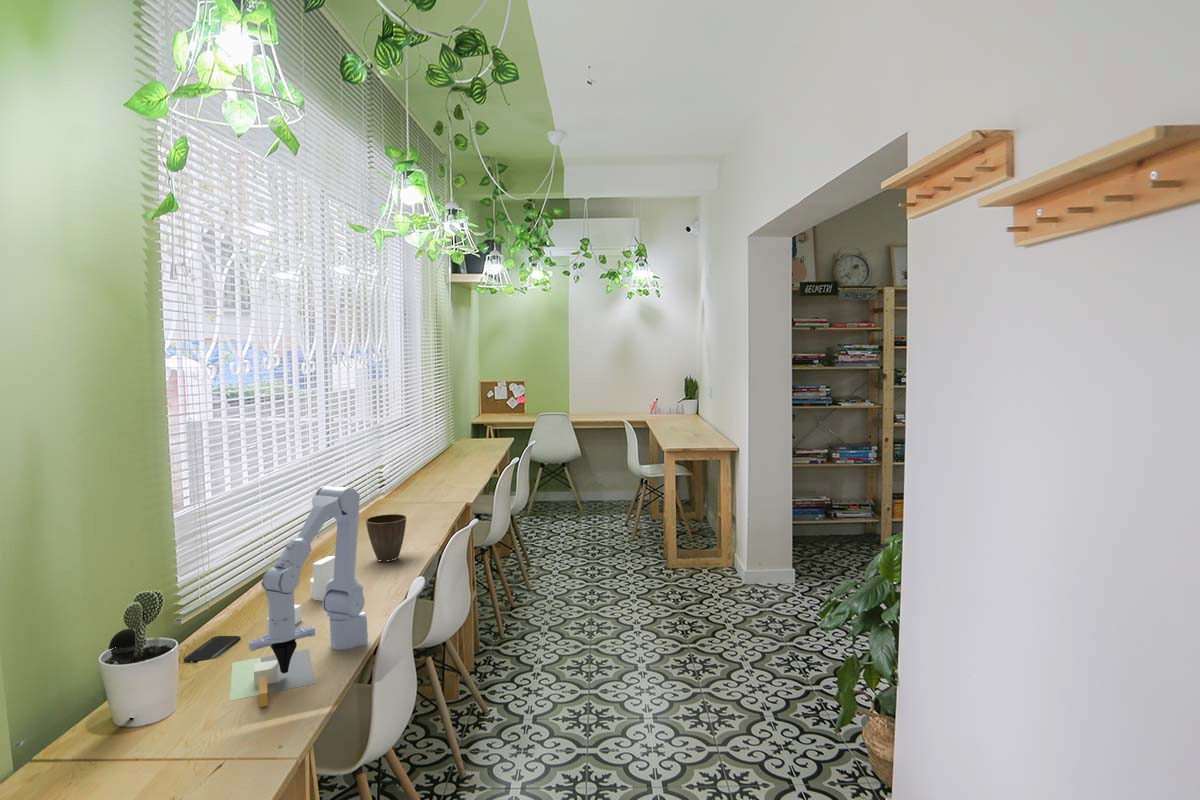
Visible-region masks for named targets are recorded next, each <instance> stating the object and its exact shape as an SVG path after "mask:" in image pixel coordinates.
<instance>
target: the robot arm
mask: <svg viewBox="0 0 1200 800" xmlns="http://www.w3.org/2000/svg"><path fill="white" fill-rule="evenodd" d="M360 496H361V495H360V494H359V492H357V491H356V489H355V488H353V487H349V486H348V487H342V486H339V487H338V486H328V485H322V486H320V487H319V488H318V489H317V490H316V492H315V495H313V497H312V499H311V502H312V508H311V510H310V512H309V514H308V516H307V517H306V520H305V522H304V523H303V526H302V528H301V530H300V531H299V534H298V535H297V537H295V538H294V539H291V540H289V541H288V542H287V544H286V546H285V548H284V550H283V551H282V553H281V555H280V556H279V557H278V559H277V561H276V563H275V565H274V566H272V567H271V568H268V569H267V570H266V571H265V573H264V575H263V577H262V580H261V582H260V584H261V587H262V589H263V590H264V591H265V597H266V598H267V602H268V603H267V604H268V606H267V608H268V609H267V610H268V618H269V633H270V634H269V635H267V634H266V635H263V636H261V637H258V638H255V639H253V640H249V641H248V646H249V647H248V649H249V650H250V652H255V651H257V650H258V649H264V648H266V647H270V648H271V650H272V651H273V654H274V655H276V658H277V660H278V663H279V666H280V671H281V672H282V674H283V673H287V672H288V669H289V664H290V660H291V657H292V655H293V652H295V651H296V649H297V644H298V643H297V642H296V640H299V639H305V638H306V637H307V638H308V637H311V638H312V637H315V636H316V627H315V626H313V625H311V626H307V627H299V628H298V627H297V628H296V625H295V607H294V605H295V590H296V588H297V587H298V586H299V583H300V579H301V578H300V575H301V574H302V570H301V569H302V568H303V566H304V565H305V562H306V561H307V559H308V558H309V556H310V554H311V553H312V547H311V543H312V542H313V541H314V538H315V537H316V536H317V534H319V532H320V530H322V529H321V528H323V526H324V524H325V523H326V521H328V519H332V518H334V519H335V520H336V522H337V523H336V533H335V534H336V536H335V537H336V539H335V550H334V551H335V552H334V556H335V564H334V579H333V580H332V581H331V582H330V583H329V584H328V585H327V586H326V591H325V595H324V597H323V601H321V604H322V605H321V606H322V609H323V611H325V613H326V614H327V615H326V616H327V617H329V633H330V635H329V636H330V637H329V638H330V648H331V649H333V650H338V651H340V650H341V651H342V650H348V649H352V648H355V647H360V646H366V648H367V649H368V648H369V644H368V643H369V641H368V640H369V639H368V638H369V633H368V620H367V614H366V612H365V611H363V609H364V607H365V597H364V590H363V589H364V586H363V585H362V584H361V583H360V582H359V581H358V580H357V579H356V566H357V565H356V564H357V550H358V537H359V536H358V533H359V522H360V521H359V518H360Z"/></svg>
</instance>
